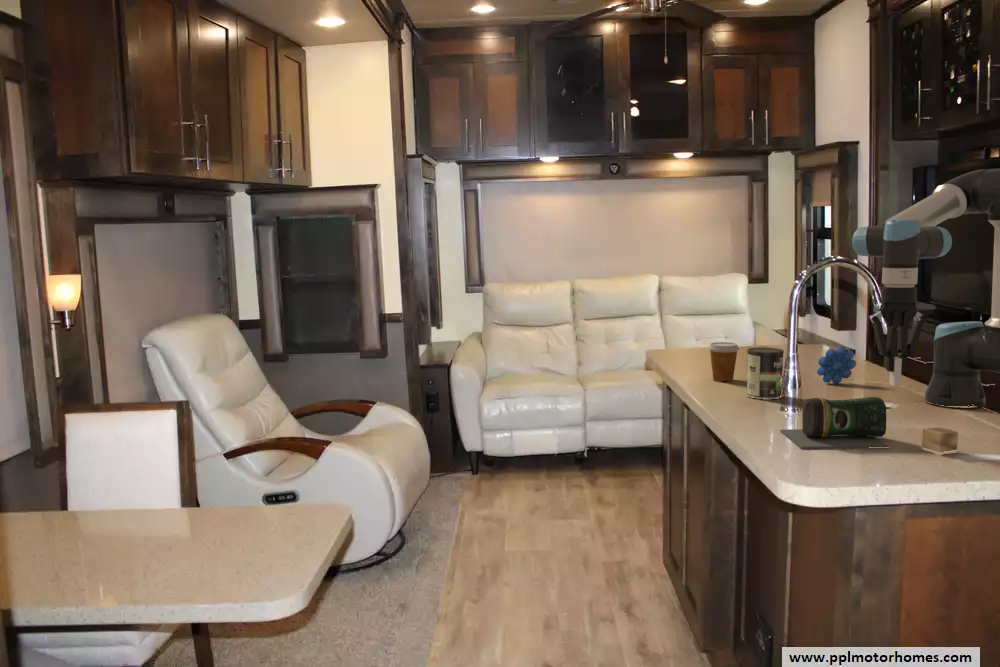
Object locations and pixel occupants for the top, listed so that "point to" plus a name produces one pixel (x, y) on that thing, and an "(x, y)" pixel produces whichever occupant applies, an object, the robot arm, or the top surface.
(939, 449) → the oak block
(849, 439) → the mat
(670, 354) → the top surface
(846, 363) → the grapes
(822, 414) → the coffee jar
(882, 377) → the top surface
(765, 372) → the coffee can
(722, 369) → the disposable coffee cup
